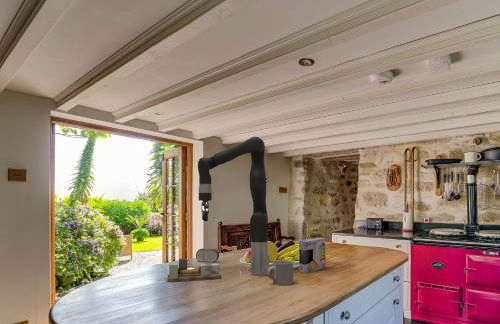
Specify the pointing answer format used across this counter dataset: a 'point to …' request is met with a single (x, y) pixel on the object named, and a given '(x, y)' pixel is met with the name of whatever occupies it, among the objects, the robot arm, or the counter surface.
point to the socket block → (173, 270)
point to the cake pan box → (311, 255)
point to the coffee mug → (281, 272)
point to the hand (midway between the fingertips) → (204, 220)
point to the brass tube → (185, 270)
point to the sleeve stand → (200, 274)
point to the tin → (207, 255)
